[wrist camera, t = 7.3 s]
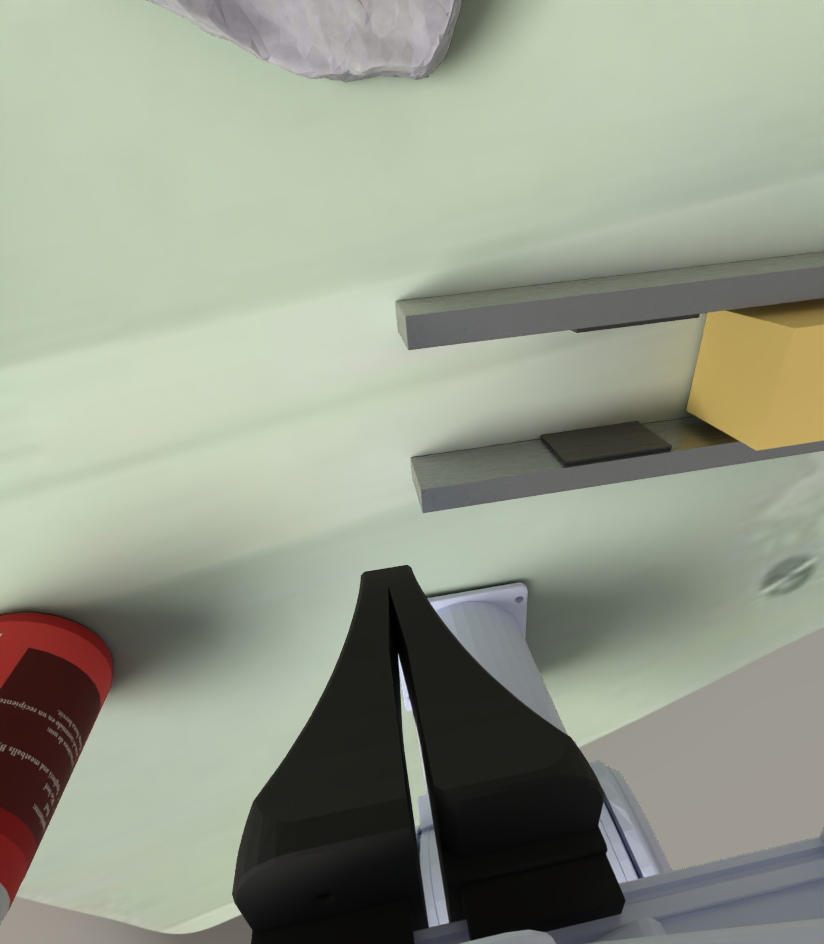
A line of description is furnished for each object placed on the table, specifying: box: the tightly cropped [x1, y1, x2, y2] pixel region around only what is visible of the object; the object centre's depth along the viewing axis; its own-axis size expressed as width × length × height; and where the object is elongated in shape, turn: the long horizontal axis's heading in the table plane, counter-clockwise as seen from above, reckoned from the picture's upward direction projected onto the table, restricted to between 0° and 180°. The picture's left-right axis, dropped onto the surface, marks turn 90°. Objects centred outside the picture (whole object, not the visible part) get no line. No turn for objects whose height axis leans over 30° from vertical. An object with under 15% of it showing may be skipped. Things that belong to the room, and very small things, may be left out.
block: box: [686, 298, 824, 451], centre depth 21 cm, size 5×6×4 cm
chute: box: [395, 252, 824, 513], centre depth 21 cm, size 8×25×3 cm, turn 95°
